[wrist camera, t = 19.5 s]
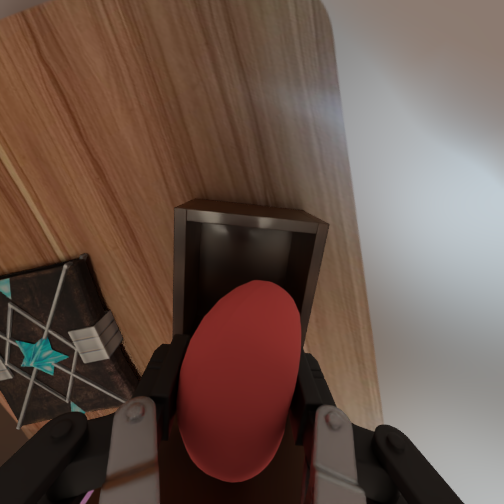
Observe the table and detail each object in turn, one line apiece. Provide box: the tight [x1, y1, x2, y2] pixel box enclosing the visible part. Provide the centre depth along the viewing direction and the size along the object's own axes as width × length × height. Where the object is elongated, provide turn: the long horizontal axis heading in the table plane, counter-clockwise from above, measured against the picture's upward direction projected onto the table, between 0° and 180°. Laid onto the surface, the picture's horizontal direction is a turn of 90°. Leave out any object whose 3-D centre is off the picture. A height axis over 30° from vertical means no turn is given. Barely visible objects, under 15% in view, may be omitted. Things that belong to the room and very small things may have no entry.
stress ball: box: [176, 280, 301, 483], centre depth 11 cm, size 5×9×6 cm, turn 161°
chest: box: [173, 198, 329, 347], centre depth 26 cm, size 16×13×9 cm
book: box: [0, 253, 139, 429], centre depth 30 cm, size 22×17×5 cm
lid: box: [86, 411, 305, 504], centre depth 15 cm, size 17×13×5 cm
